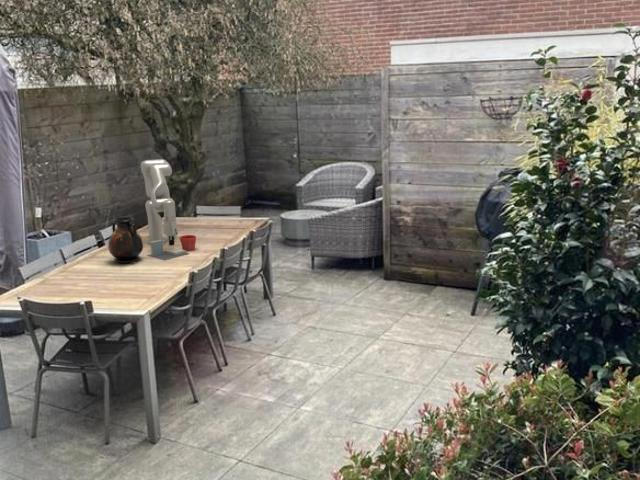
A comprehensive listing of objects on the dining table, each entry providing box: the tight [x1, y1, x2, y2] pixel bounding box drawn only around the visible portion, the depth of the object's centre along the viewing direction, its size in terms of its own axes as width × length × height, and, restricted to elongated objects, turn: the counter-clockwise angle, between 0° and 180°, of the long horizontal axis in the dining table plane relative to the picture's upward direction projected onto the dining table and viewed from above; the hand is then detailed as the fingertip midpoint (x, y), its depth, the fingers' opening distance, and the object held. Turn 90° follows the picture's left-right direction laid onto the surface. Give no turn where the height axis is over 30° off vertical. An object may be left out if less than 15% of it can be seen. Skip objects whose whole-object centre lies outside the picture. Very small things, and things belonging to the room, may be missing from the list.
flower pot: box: [179, 234, 197, 252], centre depth 412 cm, size 11×11×10 cm
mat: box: [146, 250, 190, 261], centre depth 400 cm, size 20×21×1 cm
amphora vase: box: [107, 216, 144, 265], centre depth 384 cm, size 22×22×28 cm
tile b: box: [150, 240, 164, 256], centre depth 398 cm, size 2×8×10 cm, turn 141°
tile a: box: [166, 247, 186, 256], centre depth 403 cm, size 2×8×10 cm
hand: (171, 245), depth 405 cm, fingers closed
